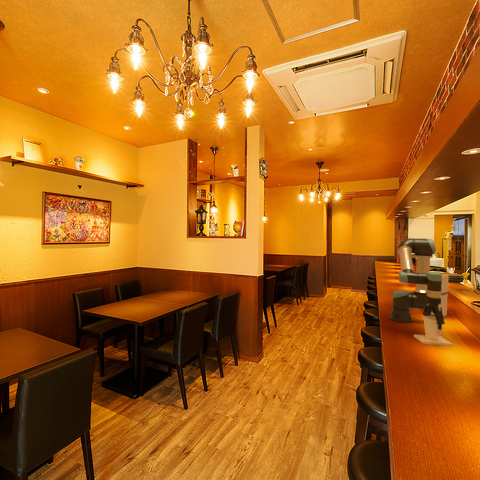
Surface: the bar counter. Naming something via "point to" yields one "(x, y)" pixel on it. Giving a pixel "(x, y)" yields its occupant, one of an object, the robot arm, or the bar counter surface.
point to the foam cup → (430, 327)
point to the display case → (443, 296)
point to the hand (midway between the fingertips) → (432, 330)
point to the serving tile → (433, 342)
